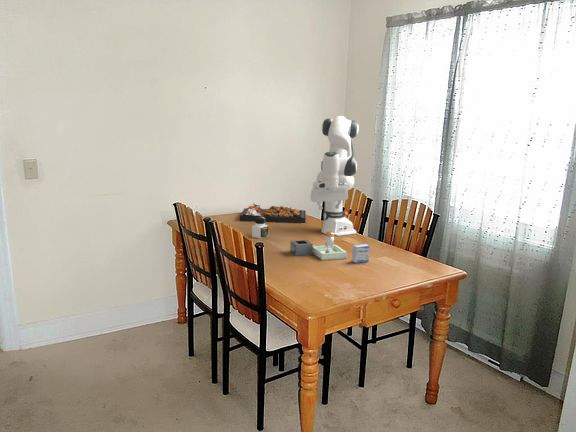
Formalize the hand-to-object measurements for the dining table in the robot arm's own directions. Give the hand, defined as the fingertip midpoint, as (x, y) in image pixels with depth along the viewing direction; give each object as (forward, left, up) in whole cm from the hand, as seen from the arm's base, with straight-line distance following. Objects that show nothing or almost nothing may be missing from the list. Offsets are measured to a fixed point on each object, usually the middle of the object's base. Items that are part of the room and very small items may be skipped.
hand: (328, 209), depth 253 cm
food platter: (+3, -88, -26) cm, 92 cm away
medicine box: (-12, +15, -25) cm, 32 cm away
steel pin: (0, +2, -24) cm, 24 cm away
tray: (0, +2, -25) cm, 25 cm away
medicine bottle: (+26, -43, -25) cm, 56 cm away
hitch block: (+13, -6, -25) cm, 29 cm away
